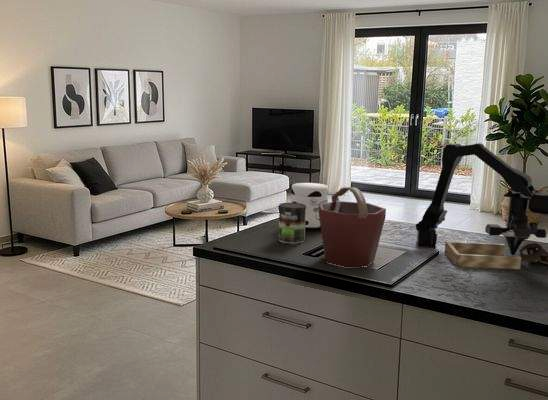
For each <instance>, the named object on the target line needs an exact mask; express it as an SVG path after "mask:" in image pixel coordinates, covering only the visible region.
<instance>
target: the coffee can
mask: <svg viewBox="0 0 548 400" xmlns="http://www.w3.org/2000/svg"><path fill="white" fill-rule="evenodd" d="M278 208H279V210H278V211H279V213H278V239H279V241H281V242H285V243H300V242H303V241H304V240H305V239H306V237H305V236H306V235H305V234H306V229H305V217H306V205H304V204H301V203H291V202H282V203H279V205H278ZM279 241H278V242H279ZM281 242H280V243H281ZM285 243H284V244H285Z"/></svg>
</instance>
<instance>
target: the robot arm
mask: <svg viewBox="0 0 548 400" xmlns="http://www.w3.org/2000/svg"><path fill="white" fill-rule="evenodd" d="M466 156H476V157H477V158H478V159H479V160H481V162H483V163H484V164H485V165H487V166H488V167H490V169H492V170H493V171H494V172H496V173H497V174H498V175H500V176H501V177H502V179H503V180H504V182H505V183H506V184H507V186H508V187H509V188H510V189H509V190H508V192H506V193H504V194H503V197H505V198H509V204H508V211H507V212H506V215H507V222H506V223H505V227H503V226H501V225H499V224H495V223H494V224H493V223H491V224H490V223H487V224H486V225H485V228H484V232H485V233H486V234H487V235H489V236H497V237H500V236H501V235H502V236H503V237H504V238H505V240H506V242H507V247H508V248H509V253H510V256H515V255H516V253H517V252H518V249H520V246H521V244H522V243H523V242H524V241H525V240H528V239H529V238H531V235H534V236H535V237H536V238H537V239H539V238H543V239H545V238H547V230H546V229H545V228H543V227H542V226H541V225H540V226H539V224H538V223H537V222H534V221H532V222H529V221H528V219H529V218H528V217H529V216H528V215H527V213H528V211H531V214H537V215H544V216H548V194H541V193H538V192H537V190H536V189H535V187H534V186H533V184H532V183H533V181H532V177H531V176H530V175H529V174H527V173H524V172H523V171H521V170H520V169H517V168H514V167H512V166H510V165H509V164H508V163H506V162H505V161H504V160H502V158H500V157H499V156H498V155H496V154H495V153H493V152H492V151H491V150H490V149H488V148H487V147H486V146H485V145H484V144H483V143H482V142H478V143H474V144H473V143H472V144H465V145H462V144H460V143H450V144H447V145H445V147H444V148H443V149H442V154H441V164H442V168H441V171H440V174H439V177H438V179H437V184H436V185H435V186H436V187H435V190H434V193H433V196H432V200H431V203H430V204H429V206H428V207H427V208H426V209H425V212H424V213H423V216H422V218H421V220H420V221H418V222H417V223H416V224H415V230H416V232H417V233H416V235H417V236H416V241H415V244H416V245H417V247H420V248H436V247H437V242H438V241H437V238H438V234H437V232H436V231H437V230H436V229H438V227H439V225H441V224H442V223H443V222H444V221H446V215H447V213H448V210H446V209H445V208H444V205H445V201H446V198H447V195H448V192H449V189H450V185H451V183H452V180H453V176H454V173H455V170H456V168H458V165H460V163H461V161H462V159H463V157H466Z"/></svg>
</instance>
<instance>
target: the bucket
mask: <svg viewBox="0 0 548 400" xmlns="http://www.w3.org/2000/svg"><path fill="white" fill-rule="evenodd" d="M348 191H350V192H352V194H353V197H354V198H355V200H356V201H346V200H345V201H343V200H342V201H341V200H340V199H339V197H342V196H343V195H345V194H346V193H347V192H348ZM386 210H387V208H385V207H381V206H379V205H375V204H373V203H370V202H369V203H368V202H367V201H366V198H365V196H364V194H363V192H362V191H361V190H360V189H359V188H357V187H354V186H353V187H350V186H347V187H346V186H345V187H344V186H343V187H341V188H340V189H339V190H338V191H336V192H335V193H333V194H332V195H331V202H330V201H329V202H328V203H322V204H319V219H320V226H321V228H320V232H321V240H322V244H323V245H322V246H323V253H324V259H325V260H324V261H325V263H326V262H328V263H332V264H336V265H340V266H344V267H362V266H363V267H364V266H368V265H369V264H370V263H371V262H373V261H374V262H375V259H376V253H377V252H378V248H379V243H380V239H381V237H382V236H381V235H382V232H383V229H384V225H385V222H386V221H385V220H386V215H387V211H386ZM374 262H373V263H374ZM369 266H370V265H369ZM369 266H368V267H369Z"/></svg>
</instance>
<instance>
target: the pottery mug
mask: <svg viewBox="0 0 548 400" xmlns="http://www.w3.org/2000/svg"><path fill="white" fill-rule="evenodd" d="M524 251H526V253H527V254H526V253H523V252H524ZM518 257H521V263H522V262H525V263H530V262H535V261H537V262H538V261H540V262H543V263H547V264H548V251H547V250H546V248H544V247H542V245H541V244H539V243H538V242H537V243H536V242H530V243H526V244H524V245H523V246H521V247H520V248H519V255H518Z"/></svg>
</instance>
